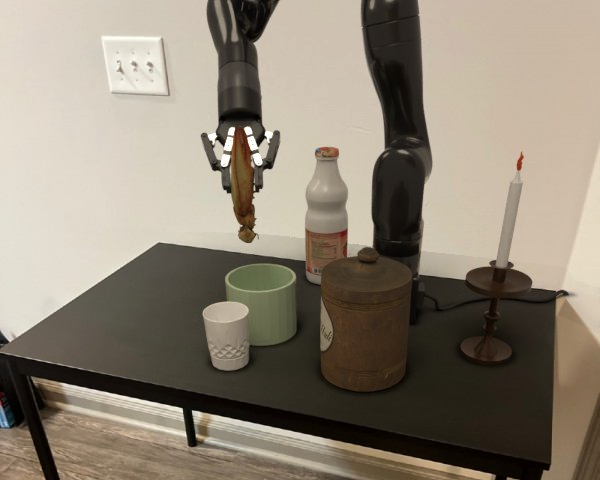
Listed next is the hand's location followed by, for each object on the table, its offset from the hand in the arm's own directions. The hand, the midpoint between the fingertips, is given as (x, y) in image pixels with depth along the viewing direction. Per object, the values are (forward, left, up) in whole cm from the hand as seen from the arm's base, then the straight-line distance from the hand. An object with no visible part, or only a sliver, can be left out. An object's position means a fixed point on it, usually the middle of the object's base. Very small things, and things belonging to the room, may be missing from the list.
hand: (243, 190), depth 101 cm
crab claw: (0, -2, -10) cm, 10 cm away
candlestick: (-44, +2, -28) cm, 52 cm away
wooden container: (-22, +10, -28) cm, 37 cm away
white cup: (+2, +10, -28) cm, 30 cm away
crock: (-2, -3, -28) cm, 28 cm away
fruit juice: (-12, -29, -28) cm, 42 cm away
